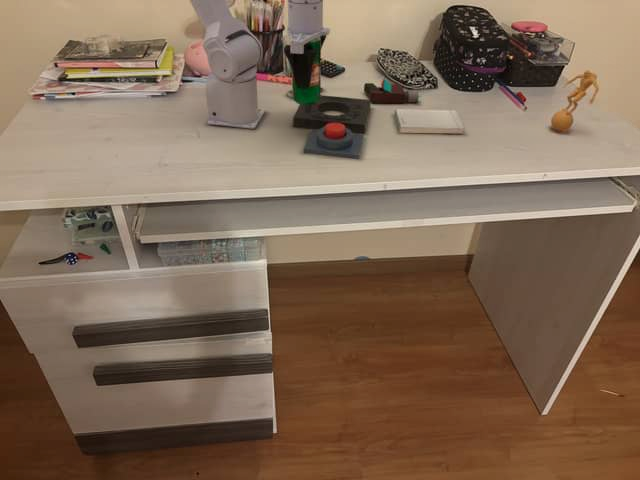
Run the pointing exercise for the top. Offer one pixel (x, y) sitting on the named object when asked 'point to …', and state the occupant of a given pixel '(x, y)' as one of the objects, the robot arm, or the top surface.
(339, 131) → the power button
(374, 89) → the toy gun
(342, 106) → the dock
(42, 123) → the top surface
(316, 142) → the button box
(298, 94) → the soda can
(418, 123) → the hard drive
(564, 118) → the figurine
